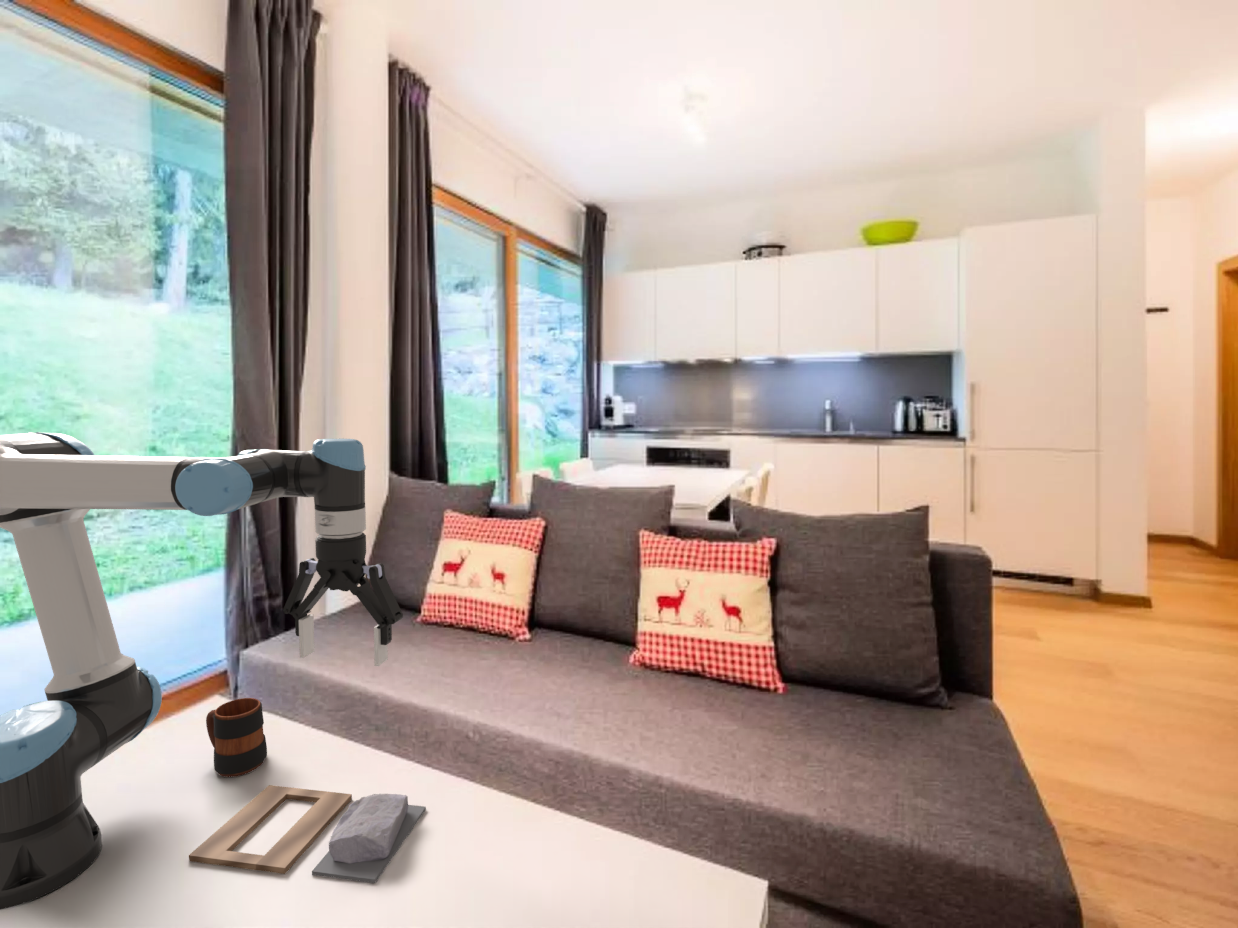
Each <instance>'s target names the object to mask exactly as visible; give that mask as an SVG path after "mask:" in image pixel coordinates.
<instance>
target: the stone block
mask: <svg viewBox="0 0 1238 928" xmlns="http://www.w3.org/2000/svg"><path fill="white" fill-rule="evenodd" d="M408 805H409V800H408V795H406V794H405V795H404V794H397V793H373V794H370V795H367V796H363V797H361V798H359V799H356V800H354V801H353V802H352V803H349V804H348V809H347V810H346V811H344V813H343V814H342V816H341V817H340V818H339V820H338V822H337V824H336V827H334V829H333V831H332V833H331V836H330V838H329V841H328V851H329V852H330V854H331V857H332V858H333V860H334V861H339V862H344V863H348V864H351V863H356V862H363V861H373V860H378V859H379V860H381V859H385V858H387V857H388V855H389V854H390V852H391V849H392V847H393V844H394V842H395V840H396V837H397V835H398V832H399V830H400V828H401V825H402V823H403V821H404V818H405V816H406V814H407V811H408Z"/></svg>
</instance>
